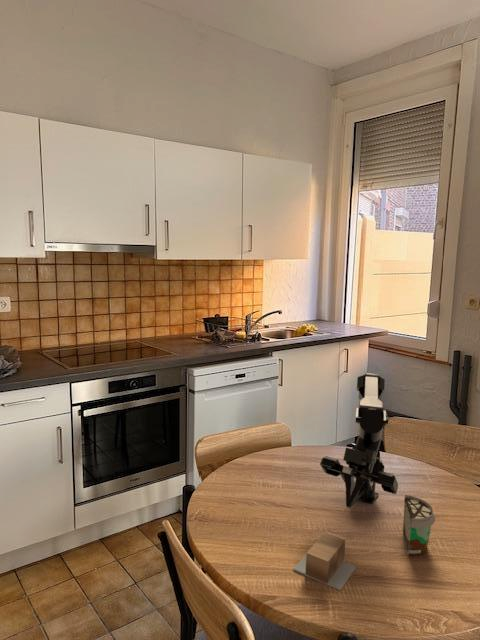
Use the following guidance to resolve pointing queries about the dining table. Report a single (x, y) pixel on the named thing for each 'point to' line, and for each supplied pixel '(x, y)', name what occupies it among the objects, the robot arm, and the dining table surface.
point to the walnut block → (325, 557)
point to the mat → (337, 579)
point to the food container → (417, 525)
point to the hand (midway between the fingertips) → (348, 507)
